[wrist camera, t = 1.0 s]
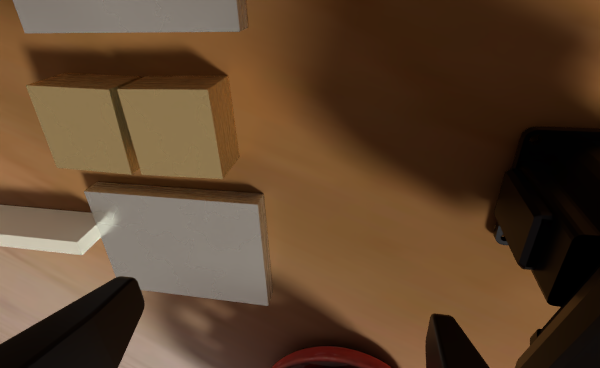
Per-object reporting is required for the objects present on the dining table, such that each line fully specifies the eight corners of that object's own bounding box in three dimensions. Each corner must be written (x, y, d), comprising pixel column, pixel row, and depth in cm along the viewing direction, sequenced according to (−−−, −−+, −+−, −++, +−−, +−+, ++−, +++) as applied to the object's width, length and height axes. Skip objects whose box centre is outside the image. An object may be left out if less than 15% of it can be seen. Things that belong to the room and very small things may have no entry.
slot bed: (225, -214, 13) (212, -229, 12) (272, 292, 26) (268, 305, 25) (-30, -181, 15) (-59, -192, 14) (129, 275, 27) (119, 287, 26)
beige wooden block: (142, 75, 20) (108, 89, 17) (158, 152, 22) (131, 174, 19) (67, 71, 20) (25, 85, 18) (91, 146, 23) (57, 167, 20)
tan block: (229, 74, 19) (207, 89, 16) (240, 155, 21) (222, 179, 19) (149, 74, 20) (116, 89, 17) (168, 152, 22) (141, 174, 19)
